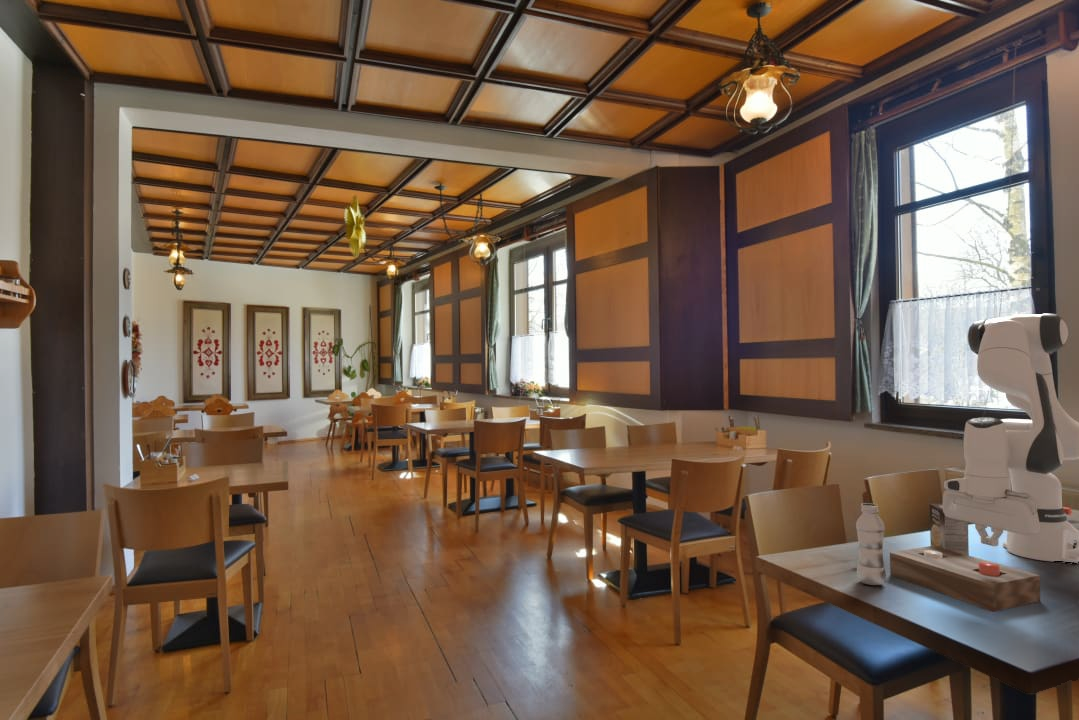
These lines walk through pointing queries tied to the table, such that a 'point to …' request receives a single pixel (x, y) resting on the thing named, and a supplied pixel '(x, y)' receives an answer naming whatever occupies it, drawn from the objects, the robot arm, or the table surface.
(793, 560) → the table surface
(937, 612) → the table surface
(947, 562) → the plug housing
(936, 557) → the plug
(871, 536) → the plastic bottle
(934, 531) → the coffee box
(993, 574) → the red plug
